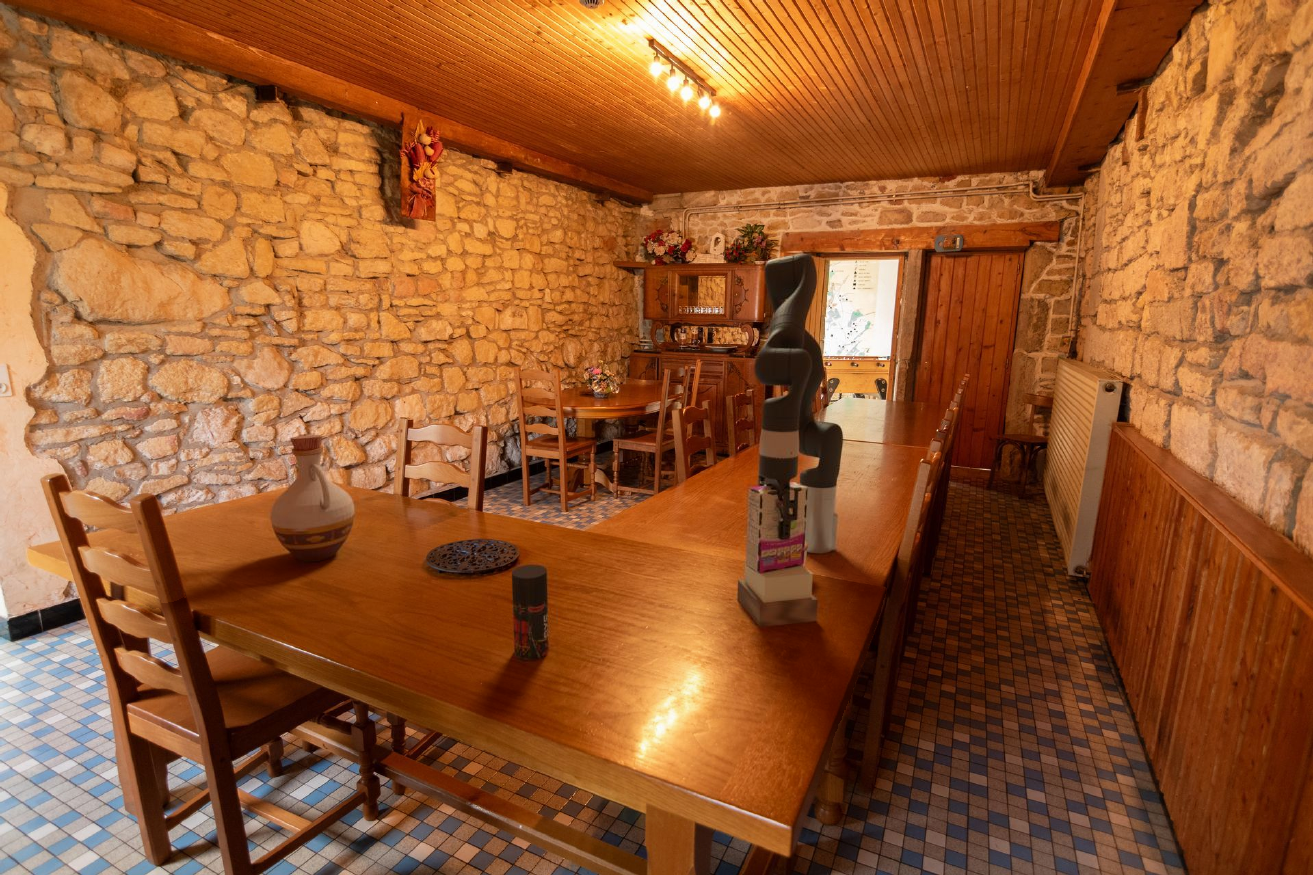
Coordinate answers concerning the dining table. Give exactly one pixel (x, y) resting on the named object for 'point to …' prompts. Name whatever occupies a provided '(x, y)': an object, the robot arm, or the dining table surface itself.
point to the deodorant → (530, 612)
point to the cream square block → (780, 583)
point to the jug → (312, 507)
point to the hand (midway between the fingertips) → (774, 531)
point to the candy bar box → (773, 531)
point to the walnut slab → (776, 608)
